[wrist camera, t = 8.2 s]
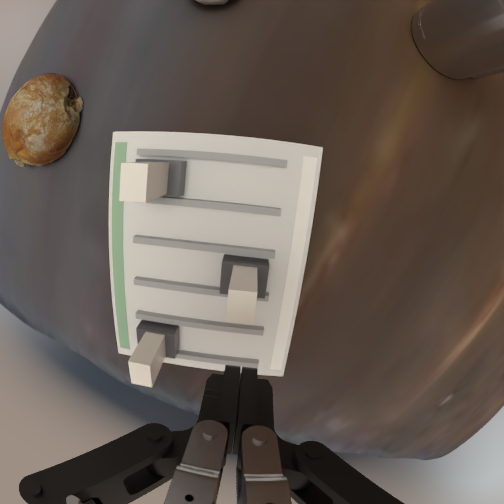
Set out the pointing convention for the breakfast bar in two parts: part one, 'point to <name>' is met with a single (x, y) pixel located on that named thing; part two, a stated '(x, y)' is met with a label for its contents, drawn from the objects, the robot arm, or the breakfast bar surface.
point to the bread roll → (41, 120)
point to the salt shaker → (212, 2)
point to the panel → (212, 244)
